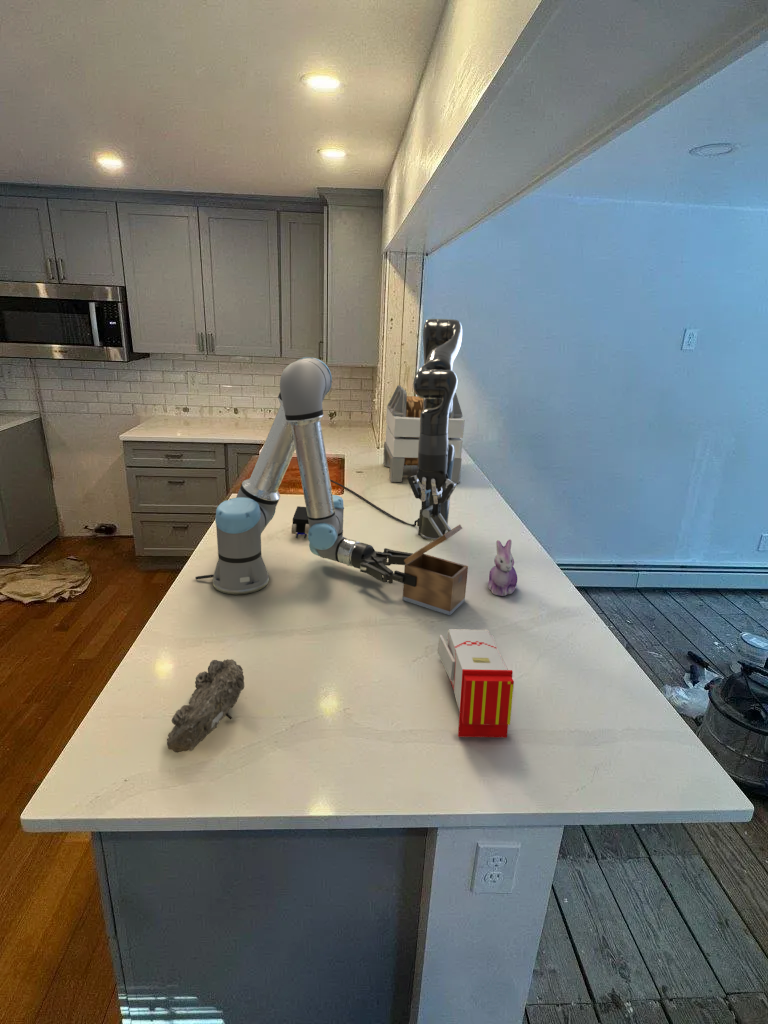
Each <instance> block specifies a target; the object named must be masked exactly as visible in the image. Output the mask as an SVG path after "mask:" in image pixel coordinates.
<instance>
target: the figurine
mask: <svg viewBox="0 0 768 1024" xmlns="http://www.w3.org/2000/svg"><path fill="white" fill-rule="evenodd" d="M495 544H496V554H495V555H496V556H495V558H494V566H492V568H490V570H489V573H488V581H487V582H488V583H487V588H488V589H489V591H491V593H492V594H493V595H495V596H500V597H505V596H508V595H512V594H513V593H514V592H515V590H516V587H517V584H518V574H517V571H516V568H515V567H514V565H515V559H514V556H513V553H512V544H513V543H512V539H510V538H509V539H508V540H507V541H506V543H505V544H504V546H503V544H502V542H501V541H500V540H496V542H495Z"/></svg>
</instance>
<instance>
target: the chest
mask: <svg viewBox="0 0 768 1024" xmlns="http://www.w3.org/2000/svg"><path fill="white" fill-rule="evenodd" d="M403 569H404V570H403V573H406V574H409V575H412V576H416V577H417V582H416V587H413V586H410V585H407V584H404V583H403V585H402V586H403V588H402V598H401V600H402V601H405V602H408V603H411V604H413V605H416V606H420V607H422V608H426V609H428V610H431V611H435V612H438V613H440V614H443V615H444V614H445V615H447V616H451V615H452V614H453V613H454V612H455V611H456V610H457V609H458V608H460V607H461V606H462V605H463V604H464V603H465V602H466V593H467V582H468V572H469V566H468V565H466V564H462V563H459V562H456V561H451V560H448V559H444V558H441V557H438V556H435V555H430V554H428V553H427V554H426V553H424V554H422V555H420V556H419V557H417V558H415V559H414V560H412V561H411V562H409V563H407V564H405V565H404V568H403Z"/></svg>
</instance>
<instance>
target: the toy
mask: <svg viewBox="0 0 768 1024" xmlns="http://www.w3.org/2000/svg"><path fill="white" fill-rule="evenodd" d="M446 640H447V643H446V641H445V639H444V636H443V635H442V634H439V637H438V646H437V656H438V657H439V659H440V661H441V663H442V666H443V668H444V670H445V672H446V674H447V677H448V679H449V681H450V684H451V687H452V690H453V693H454V697H455V701H456V705H457V708H458V711H459V714H458V715H459V716H458V730H457V731H458V732H457V737H458V738H508V731H509V726H510V725H511V717H512V707H513V697H514V696H513V695H514V684H515V680H514V679H513V673H514V671H513V670H512V669H508V667H507V665H506V662H505V661H504V659H503V658H502V655H501V653H500V651H499V649H498V647H497V643H496V639H495V637H494V635H493V634H491V632H490V631H489V629H467V628H466V629H465V628H463V629H461V628H460V629H459V628H448V630H447V639H446Z"/></svg>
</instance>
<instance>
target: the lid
mask: <svg viewBox="0 0 768 1024" xmlns="http://www.w3.org/2000/svg"><path fill="white" fill-rule="evenodd" d="M432 514H433V505H432V506H430V507H428V508H426V509H425V510H423V512H422V515H423V516H424V517H426V518H428V519H429V521H430V522H431V524H432V526H433V527H434V529H435V530H436V532H437V533H438V535H439V536H440V537H439V538H437V539H436V540H434V541H431V542H429V543H427V544H426V545H424V546H423V547H421V548H419V549H418V550H416V551H415V552H414V553H413V554H412V555H411V556H409V557H408V558H406V559H405V560H404V562H405V563H406V564H407V563H409V562H411V561H412V560H414V559H415V558H417V557H419V556H420V555H422V554H426V553H427V552H429V551H430V550H432V549H433V548H435V547H436V546H438V545H441V544H442V543H443V542H445V541H447V540H448V539H450V538H451V537H452V536H454V535H456V534H457V533H458V532H460V531H461V530H463V527H462V525H461V524H458V525H456V526H455V527H454V528H452V529H451V527H450V525H449V523H448V524H447V523H446V521H445V519H444V518H443V516H442V515H441V513H440V514H439V515H438V516H439V518H440V520H441V521H442V523H443V524H444V526H445V527H446V529H447V530H448V532H447V533H445V534H444V535H443V534H442V533H441V531H440V530H439V528H438V527H437V525H436V524H435V522H434V520H433V519H432V517H431V515H432Z"/></svg>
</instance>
